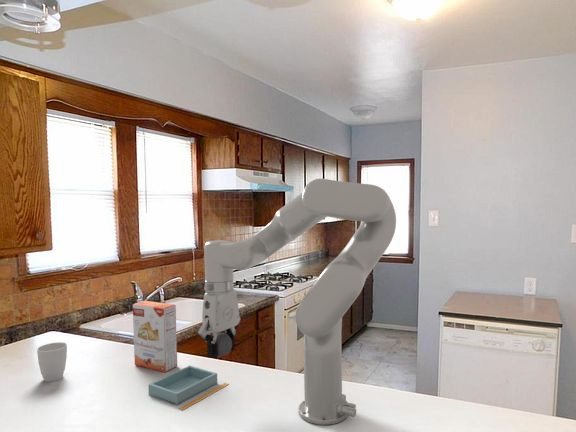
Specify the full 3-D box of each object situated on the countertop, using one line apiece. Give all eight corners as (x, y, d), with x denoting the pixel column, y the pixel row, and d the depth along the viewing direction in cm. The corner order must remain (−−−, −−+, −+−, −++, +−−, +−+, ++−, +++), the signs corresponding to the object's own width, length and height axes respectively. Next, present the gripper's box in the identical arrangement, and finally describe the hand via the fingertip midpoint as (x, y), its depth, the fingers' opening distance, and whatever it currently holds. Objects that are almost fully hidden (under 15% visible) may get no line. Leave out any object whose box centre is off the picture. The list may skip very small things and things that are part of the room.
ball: (237, 354, 113) (236, 332, 113) (222, 361, 108) (221, 338, 108) (220, 350, 117) (220, 328, 117) (205, 357, 112) (204, 334, 112)
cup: (73, 373, 134) (72, 342, 134) (57, 384, 126) (55, 351, 126) (49, 372, 135) (48, 342, 134) (32, 383, 127) (30, 351, 126)
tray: (228, 384, 124) (228, 374, 123) (182, 410, 109) (182, 399, 108) (192, 373, 132) (192, 364, 132) (145, 396, 117) (144, 385, 117)
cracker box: (133, 366, 139) (131, 303, 138) (147, 359, 144) (145, 299, 144) (164, 373, 133) (162, 308, 132) (178, 366, 138) (176, 303, 137)
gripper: (206, 294, 103) (208, 366, 103) (250, 282, 117) (252, 345, 118) (185, 291, 107) (187, 361, 107) (230, 280, 121) (231, 341, 122)
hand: (221, 352), depth 113 cm, fingers closed on ball, 5 cm apart
